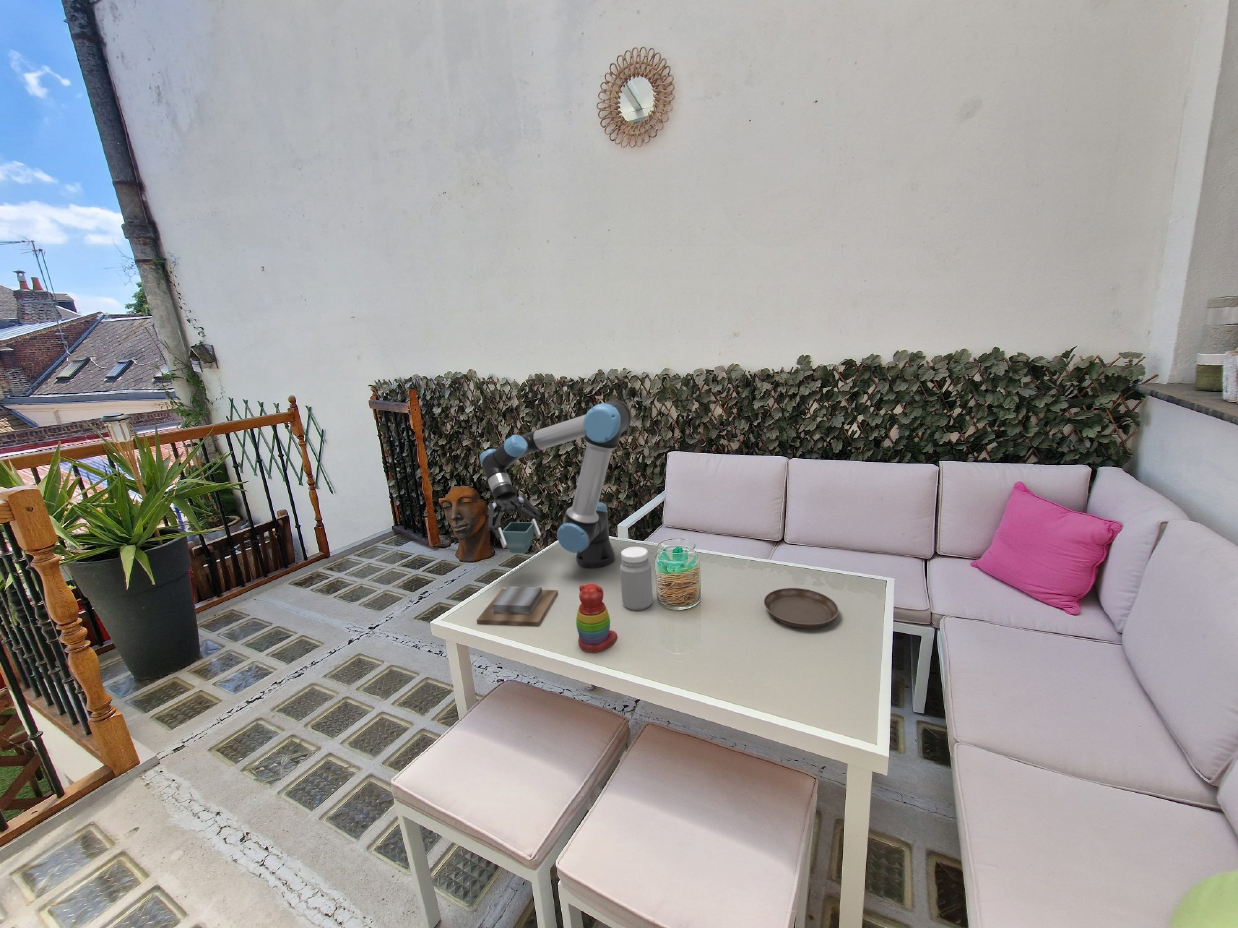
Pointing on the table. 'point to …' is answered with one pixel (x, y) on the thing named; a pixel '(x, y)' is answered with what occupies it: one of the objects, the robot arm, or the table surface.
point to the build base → (519, 618)
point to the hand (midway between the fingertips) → (522, 541)
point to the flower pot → (519, 536)
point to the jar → (636, 578)
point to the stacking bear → (593, 620)
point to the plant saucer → (801, 607)
